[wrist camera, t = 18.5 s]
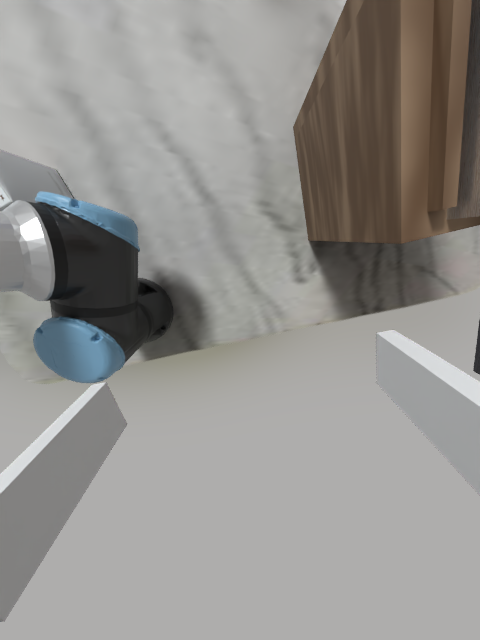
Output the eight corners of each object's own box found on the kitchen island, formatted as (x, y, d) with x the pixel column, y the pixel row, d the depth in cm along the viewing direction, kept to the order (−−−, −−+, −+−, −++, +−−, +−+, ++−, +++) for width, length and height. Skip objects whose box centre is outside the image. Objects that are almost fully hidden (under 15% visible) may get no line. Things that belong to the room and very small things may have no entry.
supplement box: (56, 167, 44) (-34, 133, 30) (84, 213, 46) (13, 202, 32) (20, 188, 45) (-81, 166, 31) (49, 232, 48) (-32, 229, 34)
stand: (308, 240, 47) (413, 244, 18) (293, 126, 41) (420, -173, 11) (392, 219, 45) (668, 183, 16) (390, 96, 39) (856, -359, 9)
